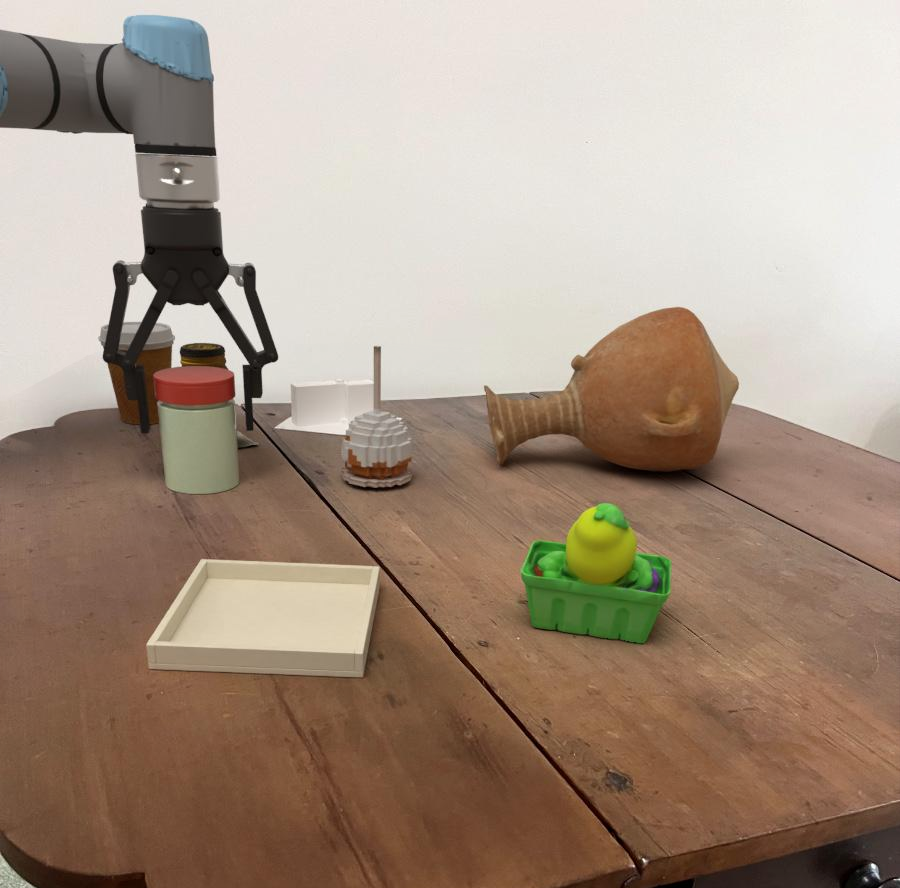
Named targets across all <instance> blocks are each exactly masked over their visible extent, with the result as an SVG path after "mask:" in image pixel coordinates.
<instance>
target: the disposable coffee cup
mask: <svg viewBox="0 0 900 888" xmlns="http://www.w3.org/2000/svg"><path fill="white" fill-rule="evenodd" d="M141 322H142V321H124V322H123V327H122V332H121V338H120V343H119V348H118V350H119V351H122V352H125V353H126V352H127V350H128V348H129V346H130V344H131V342H132V340H133V338H134V336H135V334H136V332H137V330H138V328H139V326H140V324H141ZM108 325H109V323H107V324H104V325H102V326H100V335H99V336H98V337H97V339H98V341H99V342H100V345H101V347H102V348H103V349H104V346H105V341H106V336H107V330H108ZM175 339H176V335H175V334H173V331H172V328H171V326H170V325H169V324H167V323H161V322H156V324H155V326H154V328H153V330H152V332H151V334H150V336H149V338H148V340H147V342H146V344H145V346H144V348H143V350H142V352H141V354H140V356H139V358H138V360H137V362H136V365H144V371H145V381H146V390H147V400H148V410H149V419H150V425H155V424H159V417H158V406H157V402H158V401H159V400H158V399H156V397H155V387H154V377H153V375H154V373H155V372H157V371H160V370H163V369H167V368H172V361H173V345H174V343H175V342H174V341H175ZM106 364H107V368H108V371H109V376H110V381H111V384H112V388H113V392H114V395H115V400H116V404H117V405H116V406H117V407H118V412H119V417H120V420H121V421H122V422H123V423H126V424H132V425H140V417H139V408H138V400H128V398H127V396H126V391H125V382H124V373H123V370H122V368H121V367H120V366H118V365H115V364H112V363H106Z"/></svg>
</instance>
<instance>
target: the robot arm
mask: <svg viewBox="0 0 900 888" xmlns="http://www.w3.org/2000/svg"><path fill="white" fill-rule="evenodd" d="M122 30H123V36H122V39H121V41H122V42H120V43H94V42H93V43H89V42H88V43H87V42H75V41H69V40H62V39H56V38H50V37H44V36H38V35H32V34H26V33H21V32H17V31H11V30H7V29H6V30H5V29H0V128H1V129H23V130H24V129H25V130H38V131H52V132H54V131H55V132H59V133H63V134H68V133H71V134H74V135H76V134H83V133H88V134H90V133H91V134H125V135H132V137H133V144H134V155H135V165H136V176H137V185H138V196H139V198H140V199H141V200H143V201H146V203H145V205H144V206H142V209H140V216H141V224H142V225H141V227H142V237H143V248H144V253H143V257H142V260H141V261H131V262H128V261H127V262H125V261H124V260H117V261H116V262H114V264H113V266H112V274H113V282H114V286H115V291H114V295H113V300H112V305H111V310H110V314H109V315H110V316H109V320H108V324H109V325H108V330H107V336H106V341H105V346H104V348H103V351H102V360H103V362H104V363H106V364H107V363H112V364H115V365H118V366H120V367H121V368H122V370H123V373H124V382H125V391H126V396H127V398H128V400H138V408H139V417H140V424H139V425H140V433H141V434H149V433H150V429H151V424H150V419H149V410H148V400H147V390H146V381H145V371H144V365H136V362H137V360H138V358H139V356H140V354H141V352H142V350H143V348H144V346H145V344H146V342H147V340H148V338H149V336H150V334H151V332H152V330H153V328H154V326H155V324H156V323H158V320H159V317H160V316H161V314H162V313H163V310H164V309H165V306H166V304H167V303H168V304H171V305H172V306H184V305H186V304H187V305H188V304H190V305H193V306H205V305H207V304H209V305H210V308H211V309H212V310H213V311H214V313H215V314H216V315H217V317H218V319H219V320H220V321H221V323H222V324H223V326H224V327H225V330H226V331H227V332H228V334H229V335H230V337H231V339H232V340H233V341H234V343H235V344H236V346H237V347H238V349H239V350H240V353H241V354H242V355H243V357H244V358H245V360H246V361H247V363H248V364H242V381H243V396H244V397H243V398H244V399H243V400H244V415H245V417H244V418H245V428H246V429H245V430H246V432H254V430H255V427H254V409H253V399H262V397H263V371H262V370H263V368H264V367H265V366H266V365H269V364H271V363H276V362H277V361H279V354H278V349H277V348H276V344H275V342H274V339H273V336H272V333H271V330H270V327H269V324H268V321H267V318H266V315H265V312H264V309H263V307H262V304H261V301H260V298H259V295H258V291H257V271H256V268H255V266H254V264H253V263H251V262H245V263H244V264H241V263H240V264H239V263H229V262H228V261H227V259H226V257H225V254H224V242H223V229H222V227H223V226H222V214H221V211H219V208H216V207H215V203H218V202H219V201H220V199H221V195H220V181H219V180H220V177H219V165H218V164H219V163H218V155H217V149H216V148H217V147H216V134H215V133H216V132H215V130H216V129H215V104H214V102H215V101H214V100H215V99H214V81H215V76H214V73H213V71H212V63H211V53H210V52H211V51H210V44H209V35H208V33H207V30H206V29H205V28H204V26H202V24H200V23H199V22H197V21H195V20H192V19H189V18H183V17H178V16H177V17H176V16H172V15H171V16H170V15H161V14H160V15H158V14H136V15H129V16H127V17H126V18H125V19H124V21H123V24H122ZM141 274H142V275H143V276H144V277H145V278H146V280H147V281H148V282H149V284H151V286H152V287H153V288H154V289H155V291H156V292H155V294H154V295H153V297H152V299H151V302H150V304H149V306H148V308H147V310H146V312H145V314H144V316H143V317H142V320H141V321H140V322H141V324H140V326H139V328H138V330H137V332H136V334H135V336H134V338H133V340H132V342H131V344H130V346H129V348H128V350H127V352H126V353H125V352H122V351H119V350H118V348H119V343H120V338H121V332H122V327H123V322H125V316H126V312H127V306H128V301H129V298H130V297H129V296H130V290H131V286H135V284H136V283H137V281H138V276H139V275H141ZM228 276H232V278H233V279H234V281H235V284H236V285H237V286H238V287H240V288H243V292H244V295H245V298H246V299H245V300H246V302H247V305H248V307H249V310H250V313H251V317H252V319H253V322H254V325H255V329H256V330H257V333H258V336H259V339H260V342H261V345H262V348H263V349H262V350H259V351H257V350H256V348H255V347H254V345H253V343H252V342H251V341H250V338H249V337H248V336H247V333H245V331H244V329H243V328H242V326H241V325H240V322H239V321H238V320H237V318H236V317H235V315H234V314H233V312H232V311H231V309H230V307H229V306H228V304H227V303H226V300H225V299H224V298H223V296H222V294H221V293H220V291H219V290H220V288H221V287H222V285H223V283H224V282H225V281H226V279H227V278H228Z"/></svg>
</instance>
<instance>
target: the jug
mask: <svg viewBox="0 0 900 888" xmlns="http://www.w3.org/2000/svg"><path fill="white" fill-rule="evenodd" d="M570 366H571V368H572V369H573V370H574V371H573V373H572V375H571V376H570V377H571V378H570V380H569V382H568V383H567V385H566V386H565V388H564V389H563V390H561V391H559V392H557V393H556V394H552V395H547V396H544V397H540V398H533V399H516V398H506V397H503V396H501V395H498V394H496V393H495V392H494V391H493V390H492V389H491V388H490V387H489V386H488V385H485V384H484V385H483V390H484V393H485V400H486V408H487V424H488V426H489V430H490V434H491V437H492V440H493V445H494V448H495V452H496V454H497V458H496V459H497V463H498V464H499V466H502V465H503V464H504V462H506V461H505V460H506V459H507V458H508V456H509V455H510V454H511V453H512V452H513V451H514V450H515V449H516V448H518V446H520V445H521V444H524V443H526V442H527V441H529V440H533V439H537V438H539V437H543V436H549V435H565V436H569V437H574V438H576V439H577V440H578V441H579V442H580V443H581V444H582V446H584V447H585V448H586V449H588V450H589V451H590V452H592V453H594V454H595V455H597V456H598V457H599V458H601V459H603V460H605V461H607V462H610V463H613V464H615V465H618V466H621V467H624V468H628V469H633V470H641V471H649V472H662V473H663V472H664V473H667V472H668V473H669V472H675V471H676V472H677V471H683V470H695V469H698V468H699V467H700V468H701V467H702V466H705V465H708V464H709V463H710V462H711V461H713V459H714V457H715V455H716V453H717V451H718V447H719V444H720V440H721V436H722V432H723V429H724V425H725V421H726V419H727V416H728V413H729V410H730V408H731V406H732V403H733V400H734V397H735V396H736V395H737V392H738V390H739V386H740V383H739V379H738V376H737V375H736V374H735V373H734V371H732V370H731V369H730V368H729V367H728V365H727V364H726V363H725V362H724V360H723V359H722V357H721V356H720V354H719V352H718V351H717V349H716V347H715V345H714V343H713V341H712V340H711V338H710V335H709V333H708V331H707V330H706V327H705V326H704V324H703V322H702V321H701V320H700V318H699V317H698V316H697V315H696V313H694V312H693V311H691V310H690V309H688V308H686V307H682V306H674V307H665V308H660V309H656V310H653V311H649V312H647V313H645V314H644V313H643V314H642V315H639V316H637V317H635V318H633V319H631V320H629V321H627V322H626V323H622V324H621V325H619V326H618V327H616V328H615V329H613V330H612V331H610V332H609V333H608V334H606V335H605V336H604V337H602V338H601V339H599V341H597V342H596V343H595V344H594V346H592V347H591V348H590V349H589V350H588V351H587V353H586V354H585V355H584V356H582V355H581V354H576V355H575V356H574V357H573V359H572V360H571V363H570Z"/></svg>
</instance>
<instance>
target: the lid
mask: <svg viewBox="0 0 900 888" xmlns="http://www.w3.org/2000/svg"><path fill="white" fill-rule="evenodd" d="M153 377H154V387H155V397H156V399H158V400H159V401H162V402H165V403H169V404H176V405H210V404H217V403H222V402H226V401H229V400H232V399H234V398H235V397H236V380H235V379H236V377H235V372H234V371H232V370H230V369H229V370H227V369H223V368H218V367H209V366H183V367H181V366H173V367H171V368H167V369H163V370H160V371H157V372H155V373H154V375H153Z"/></svg>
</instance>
